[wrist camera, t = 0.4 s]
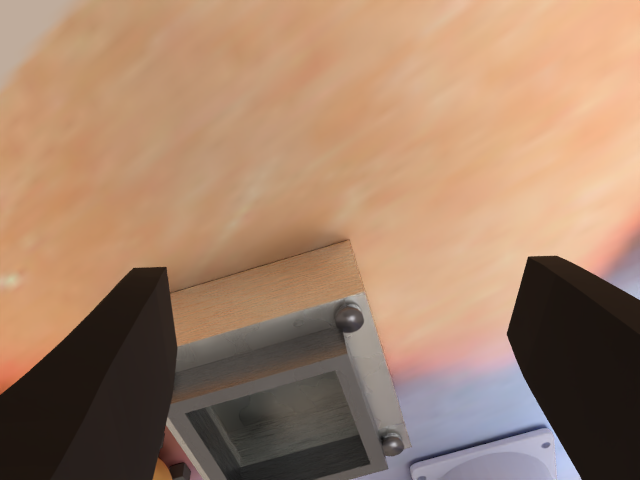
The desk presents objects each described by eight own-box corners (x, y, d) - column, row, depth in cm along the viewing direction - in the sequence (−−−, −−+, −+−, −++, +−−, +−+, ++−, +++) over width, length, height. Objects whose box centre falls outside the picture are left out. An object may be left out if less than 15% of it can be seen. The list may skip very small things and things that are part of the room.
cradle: (190, 471, 28) (188, 485, 27) (119, 491, 28) (116, 505, 28) (157, 423, 26) (155, 437, 25) (81, 445, 26) (76, 459, 25)
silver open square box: (394, 387, 26) (420, 477, 22) (221, 435, 27) (215, 533, 23) (349, 240, 22) (372, 319, 17) (141, 302, 22) (114, 394, 18)
